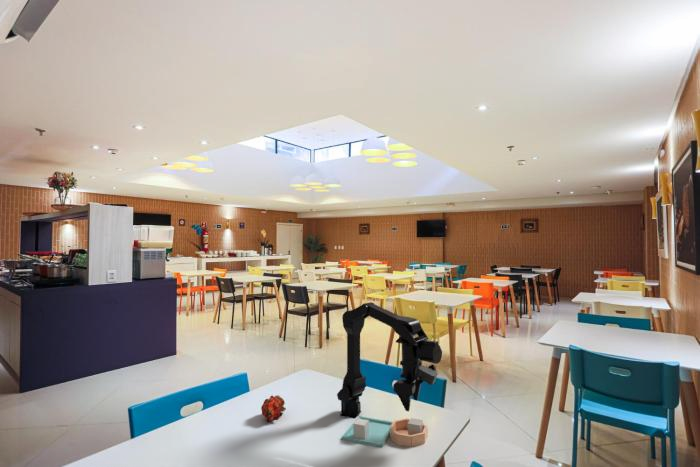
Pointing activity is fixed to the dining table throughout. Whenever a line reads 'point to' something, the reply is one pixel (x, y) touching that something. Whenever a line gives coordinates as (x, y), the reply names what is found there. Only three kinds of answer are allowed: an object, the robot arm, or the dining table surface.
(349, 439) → the tray
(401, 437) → the bowl
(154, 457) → the dining table surface
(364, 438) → the grey cardboard cube
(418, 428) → the cube
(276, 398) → the dragon fruit
